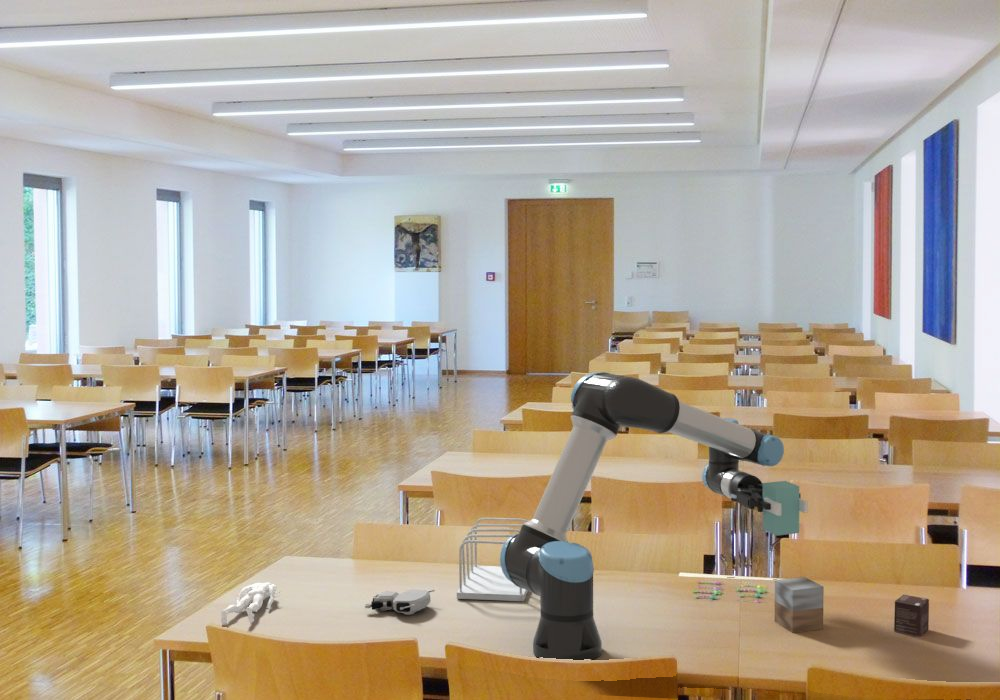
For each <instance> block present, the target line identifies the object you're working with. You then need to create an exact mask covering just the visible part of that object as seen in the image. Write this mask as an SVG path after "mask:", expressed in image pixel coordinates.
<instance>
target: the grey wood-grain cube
mask: <svg viewBox="0 0 1000 700" xmlns="http://www.w3.org/2000/svg"><path fill="white" fill-rule="evenodd" d="M781 579H782V580H774V622H775V623H776V624H778V625H779V626H781V627H783V628H784V629H786V630H787V631H788V632H791V633H792V634H793V633H801V632H809V631H816V630H824V598H825V597H824V595H825V594H824V586H823V585H821V584H820V583H817V582H815V581H814V580H811V578H810V579H809V578H808V577H805V576H803V577H800V576H799V577H792V578H781Z"/></svg>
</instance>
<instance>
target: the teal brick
mask: <svg viewBox="0 0 1000 700" xmlns="http://www.w3.org/2000/svg"><path fill="white" fill-rule="evenodd" d="M762 484H763V500H764V498H768V499H771V500H773V501H776V502H778V503H781V516H778V515H775V514H773V513H771V512H769V511H766V510H764V509H763V512H762V530H764V531H766V532H768V533H769V534H771V535H774V536H784V535H785V536H786V535H792V534H800V511H799V493H800V485H798V484H794V483H793V482H789V481H787V480H782V481H781V480H780V481H771V482H762Z"/></svg>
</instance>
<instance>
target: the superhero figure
mask: <svg viewBox="0 0 1000 700" xmlns="http://www.w3.org/2000/svg"><path fill="white" fill-rule="evenodd" d="M280 593H281V591H277V585H276V584H274V583H271V582H264V583H263V582H256V583H253V584H250V585H247V586H244V587H242V589H241V590H240V592H239V594H237V598H235V600H236V603H235V604H229V605H228V606H227V608H225V609H222V610H221V611H220V612H221V615H220V616H221V619H220V620H221V621H220V622H221V625H222V626H228V614H233V613H235V614H237V613H240V612H242V613H243V611H246V613H247V620H248V622H249V623H250V624H252V623H254V621H255V619H254V618H255V617H254V615H253V612H255V613H257V612H258V610H260V609H261V608H262V606H263V601H264V600H266V599H267V598H269V597H270V598H269V600H268V601H267V604H266V608H265V609H267V611H271V606H272V605H273V603H274V601H275V598H278V597H280V596H281V594H280ZM276 594H279V595H276Z"/></svg>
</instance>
